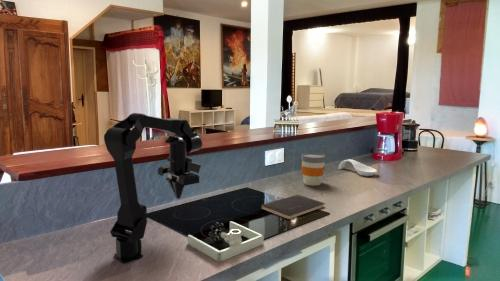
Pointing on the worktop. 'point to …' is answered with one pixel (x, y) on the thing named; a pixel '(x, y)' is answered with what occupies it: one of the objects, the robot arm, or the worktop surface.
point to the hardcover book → (292, 206)
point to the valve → (226, 235)
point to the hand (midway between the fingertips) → (178, 198)
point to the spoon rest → (359, 168)
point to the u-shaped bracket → (224, 254)
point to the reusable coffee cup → (312, 168)
